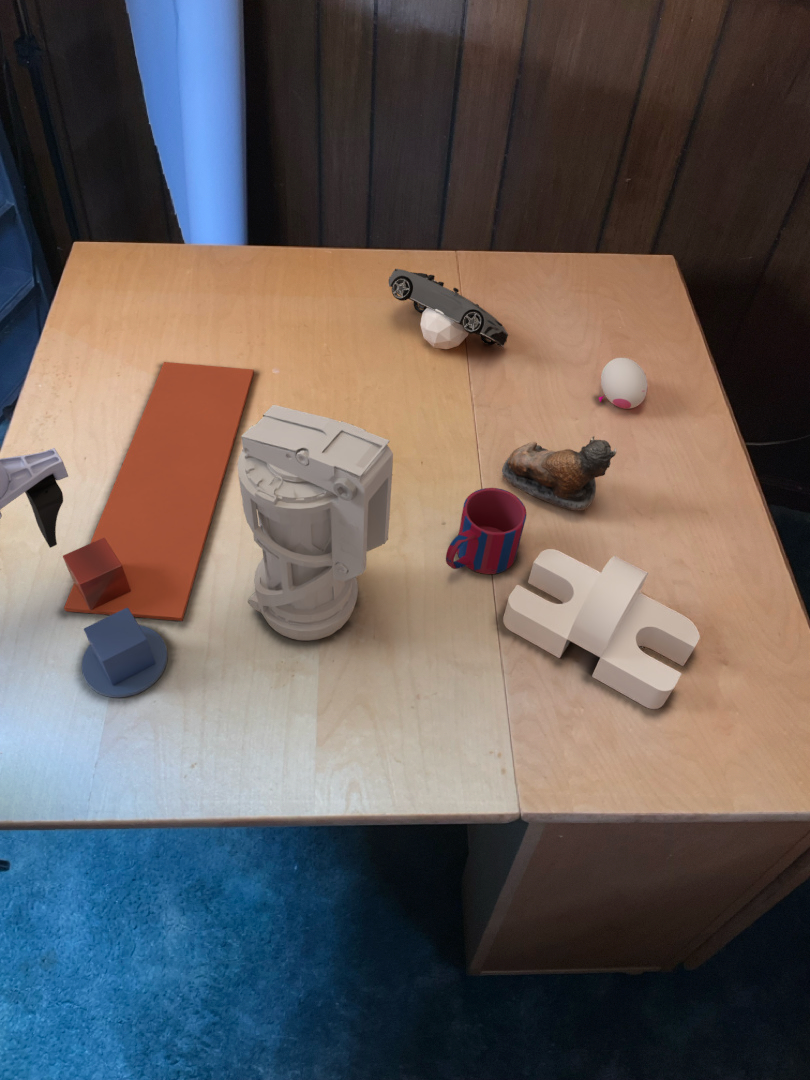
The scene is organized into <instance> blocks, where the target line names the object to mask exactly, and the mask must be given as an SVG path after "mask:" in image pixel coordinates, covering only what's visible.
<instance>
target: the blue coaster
mask: <svg viewBox="0 0 810 1080" xmlns="http://www.w3.org/2000/svg"><path fill="white" fill-rule="evenodd" d="M138 625H139V626H140V628H141V630H142V631H143V633H144V634H145V636H146V638H147V640H148V643H149V645H150V648H151V651H152V654H153V657H154V660H155V664H154V665H152V666H150V667H148V668H146V669H144V670H142V671H140V672H138V673H136V674H134V675H132V676H131V677H129V678H127V679H125V680H123V681H121V682H119V683H117V684H115V685H112V684H111V682H110V680H109V678H108V677H107V675H106V673H105V671H104V670H103V668H102V666H101V664H100V662H99V661H98V659H97V657H96V655H95V653H94V651H93V649H92V647H91V645H90V644H89V645H88V646H87V648H86V650H85V651H84V654H83V657H82V660H81V673H82V676H83V678H84V681H85V683H86V684H87V685H88V687H89V688H90V689H92V690H93V691H94V692H96V693H97V694H99V695H101V696H105V697H108V698H128V697H131V696H132V697H133V696H134V695H137V694H140V693H142V692H144V691H146V690H147V689H149V688H150V687H152V686H153V685H154V684H155V683H156V682H158V680H159V678H160V677H161V676H162V675H163V673H164V671H165V670H166V667H167V662H168V649H167V645H166V643H165V640H164V639H163V637H162V636H161V635H160V634H159V633H158V632H157V631H155V630H154V629H152V628H150V627H147V626H146V625H141V624H138Z"/></svg>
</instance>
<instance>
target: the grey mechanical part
mask: <svg viewBox="0 0 810 1080" xmlns="http://www.w3.org/2000/svg"><path fill="white" fill-rule="evenodd" d="M240 437H241V446H242V449H241V452H240V454H239V456H238V460H237V474H238V481H239V488H240V496H241V499H242V500H241V501H242V507H243V508H242V509H243V514H244V517H245V520H246V522H247V524H248V527H249V528H250V530H251V532H252V534H253V542H255V543H256V544H257V545H258V547H260V548H261V549H262V559H261V560H260V561H259V563H258V564H257V567H256V570H255V573H254V577H253V578H254V579H253V584H254V592H253V593H252V595H251V596H250V597H249V598H248V599H247V603H248V605H249V606H250V607H251V608H252V609H253V610H255V611H257V612H259V613H261V614H262V616H263V618H264V620H265V621H266V622H267V623H268V625H269V626H270V627H271V628H272V629H273V630H274V631H275V632H277V633H278V634H280V635H281V636H284V637H286V638H289V639H290V640H291V639H292V640H297V641H307V642H309V641H317V640H320V639H323V638H326V637H330V636H331V635H333V634H334V633H336V632H337V631H339V630H340V629H341V628H342V627H344V625H345V624H347V622H348V621H349V620H350V617H351V615H352V614H353V612H354V609H355V606H356V603H357V598H358V593H359V592H358V591H359V585H358V579H357V577H358V576H360V575H363V574H364V572H365V571H366V570H367V554H368V552H370V551H371V550H372V551H373V550H374V549H376V548H379V547H381V546H383V545H386V543H387V542H388V540H389V529H390V515H391V500H392V499H391V498H392V483H393V463H394V452H393V451H392V450H391V448H390V446H389V445H388V444H389V443H390V439H387V438H386V437H385V438H384V437H382V436H379V435H376V434H374V433H372V432H369V431H367V429H365V428H361V427H359V426H356V425H354V424H351V423H348V422H345V421H343V420H341V421H339V420H337V419H334V418H331V417H327V416H323V415H318V414H314V413H310V412H305V411H302V410H297V409H294V408H289V407H285V406H282V405H277V404H272V405H271V406H270V407H269V408H268V410H266V411H265V412H264V413H263V414H262V418H260V419H259V421H258V422H256V423H255V424H254V425H251V426H250V427H249V428H248V429H246V431H245V432H244V433H243V434H242V435H241V436H240Z"/></svg>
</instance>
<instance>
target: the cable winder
mask: <svg viewBox="0 0 810 1080" xmlns="http://www.w3.org/2000/svg"><path fill="white" fill-rule="evenodd" d="M648 575H649V572H647V571H646V570H644V569H641V568H640V567H638V566H636V565H634V564H632V563H630V562H628V561H626V560H624V559H622V558H621V557H618V556H616V555H612V556H611V558H610V559H609V560H608V561H607V563H606V564H605V565H604V567H603V569H602V570H601V571H600V570H599V571H598V570H597V569H595V568H593V567H591V566H590V565H587V564H585V563H583V562H581V561H580V560H577V559H576V558H574V557H571V556H570V555H567V554H566V553H563V552H562V551H560V550H558V549H554V548H547V549H544V550H542V551H540V552H539V554H538V556H536V558H535V560H534V561H533V562H532V567H531V569H530V573H529V577H528V580H527V583H528V584H529V585H531V586H533V587H535V588H537V589H538V590H541V591H542V592H544V593H546V594H548V595H549V596H552V597H553V598H556V599H557V600H559V601H560V602H561V603H555V602H552V601H548V600H547V599H545V598H543V597H541V596H539V595H537V594H536V593H534V592H532V591H530V590H529V589H526V588H525V587H523V586H521V585H519V584H516V585H515V587H514V589H513V590H512V591H511V593H510V594H509V595H508V598H507V603H506V606H505V610H504V613H503V617H502V623H503V625H504V627H505V628H506V629H507V630H509V631H510V632H512V633H514V634H515V635H517V636H519V637H521V638H522V639H524V640H526V641H528V642H530V643H531V644H533V645H535V646H537V647H539V648H540V649H542V650H544V651H546V652H547V653H549V654H551V655H553V656H555V657H556V658H558V659H561V657H562V656H563V654H564V652H565V651H566V649H567V647H568V646H569V645H570V643H573V644H575V645H577V646H578V647H581V648H582V649H584V650H586V651H588V652H589V653H591V654H593V655H595V656H596V657H598V658H599V660H598V662H597V664H596V666H595V669H594V670H593V672H592V675H591V677H592V679H595V680H597V681H599V682H600V683H602V684H604V685H606V686H608V687H609V688H611V689H613V690H615V691H617V692H618V693H621V694H622V695H624V696H625V697H627V698H629V699H631V700H633V701H634V702H636V703H637V704H640V705H641V706H643V707H645V708H647V709H649V710H658V709H660V708H662V707H663V706H664V705H665V703H666V701H667V700H668V698H669V697H670V695H671V693H672V692H673V690H674V689H675V687H676V685H677V684H678V682H679V679H680V678H681V675H682V674H683V673H682V672H680V671H678V670H677V669H675V668H673V667H671V666H669V665H668V664H665V663H663V662H661V661H660V660H658V659H656V658H654V657H652V656H650V655H648V654H647V653H645V652H644V651H642V649H641V648H640V647H645V648H648V649H650V650H652V651H653V652H656V653H658V654H659V655H661V656H663V657H665V658H667V659H668V660H670V661H672V662H674V663H675V664H678V665H679V666H682V667H684V665H685V664H686V662H687V661H688V659H689V658H690V656H691V654H692V653H693V651H694V650H695V648H696V646H697V644H698V642H699V640H700V638H701V636H700V632H699V629H698V628H697V626H696V624H695V623H694V622H693V621H692V620H691V619H689V618H688V617H687V616H685V615H684V614H682V613H681V612H678V611H676V610H674V609H672V608H670V607H668V606H666V605H664V604H663V603H661V602H659V601H657V600H655V599H653V598H651V597H648V596H647V595H645V594H643V593H641V590H642V588H643V586H644V584H645V582H646V580H647V578H648Z"/></svg>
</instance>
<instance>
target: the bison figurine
mask: <svg viewBox="0 0 810 1080" xmlns="http://www.w3.org/2000/svg"><path fill="white" fill-rule="evenodd" d="M611 447H612V446H611V444H610V443H609V441H607V440H606V439H595V435H593V436H592V437H590V439H589V442H588V444H587V443H586V445H583V446H581V449H580V451H579V452H578V451H577V450H576V451H575V450H573V449H571V448H567V449H562V450H557V451H554V450H548V449H547V448H544V447H542V446H541V445H539V444H538V443H537V442H536V441H531V442H529V443H525V444H524V445H522V446H520V447H518V448H516V449H515V450H513V451H512V452H511V453H510V455H509V457H508V458H507V459H506V460H505V462H503V465H502V469H501V473H502V476H503V477H504V478H505V479H506V480H507V481H508V482H509V483H510V484H511V485H512V486H514V487H515V488H517V489H518V490H521V491H523V492H525V493H527V494H528V495H531V496H533V497H534V498H537V499H539V500H542V501H545V502H547V503H549V504H552V505H554V506H557V507H561V508H564V509H567V510H571V511H582V510H585V509H587V508H588V507H589V506H590V505H591V504H592V503H593V501H594V499H595V497H596V493H597V484H596V482H597V481H596V478H599V477H603V476H605V475H606V472H607V470H608V469H609V468H610V466H611V460H612V458H614V457H615V456H616V455H617V451H618V450H617V447H614V449H613V450H612V448H611Z"/></svg>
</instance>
